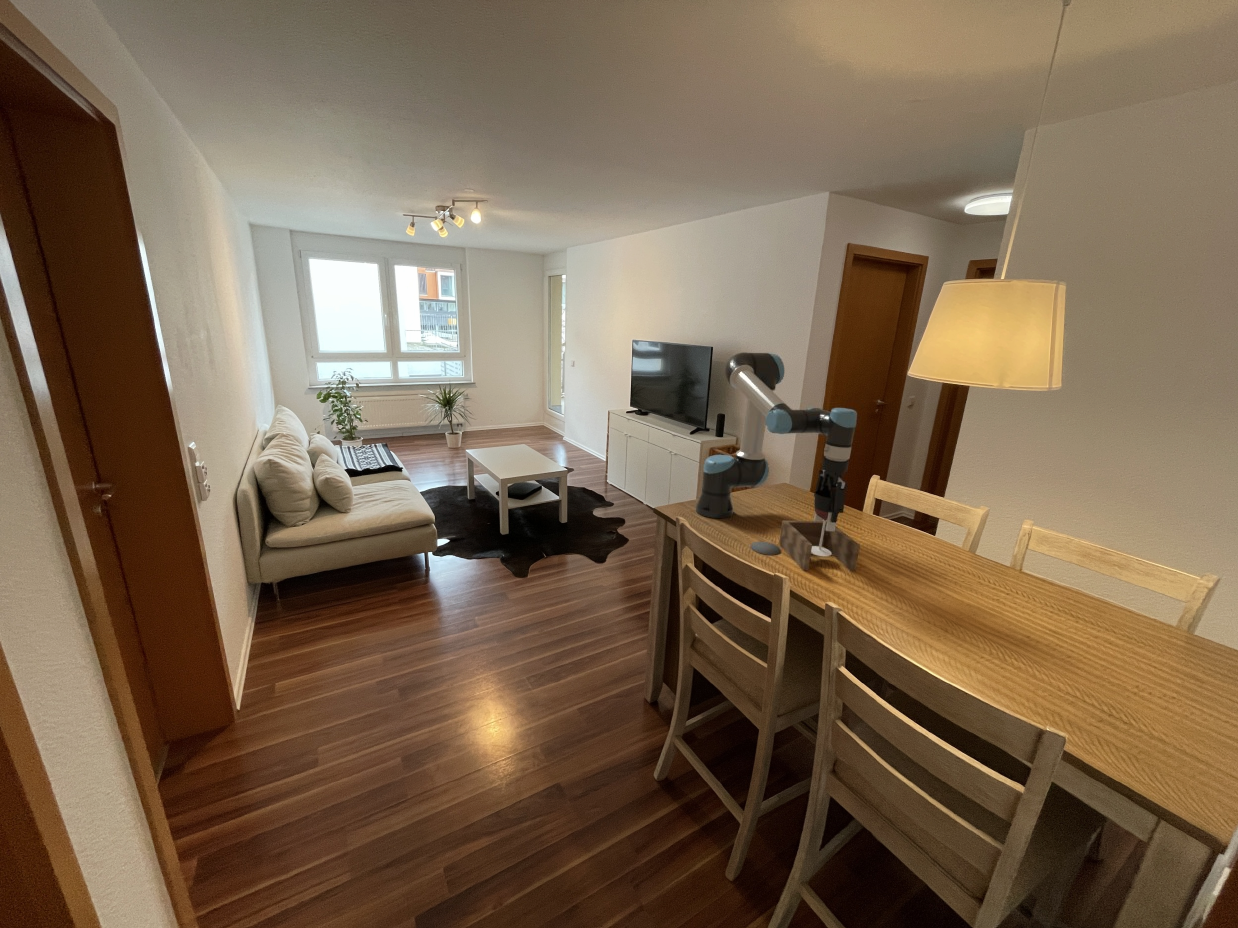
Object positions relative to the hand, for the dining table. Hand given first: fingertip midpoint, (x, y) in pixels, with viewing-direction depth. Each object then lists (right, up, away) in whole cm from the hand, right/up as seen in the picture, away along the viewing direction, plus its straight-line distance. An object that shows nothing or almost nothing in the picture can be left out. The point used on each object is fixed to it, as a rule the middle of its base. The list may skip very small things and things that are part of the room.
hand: (824, 525), depth 161 cm
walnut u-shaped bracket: (-1, -11, +6) cm, 13 cm away
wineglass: (0, -9, +3) cm, 9 cm away
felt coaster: (-16, -9, +10) cm, 21 cm away
